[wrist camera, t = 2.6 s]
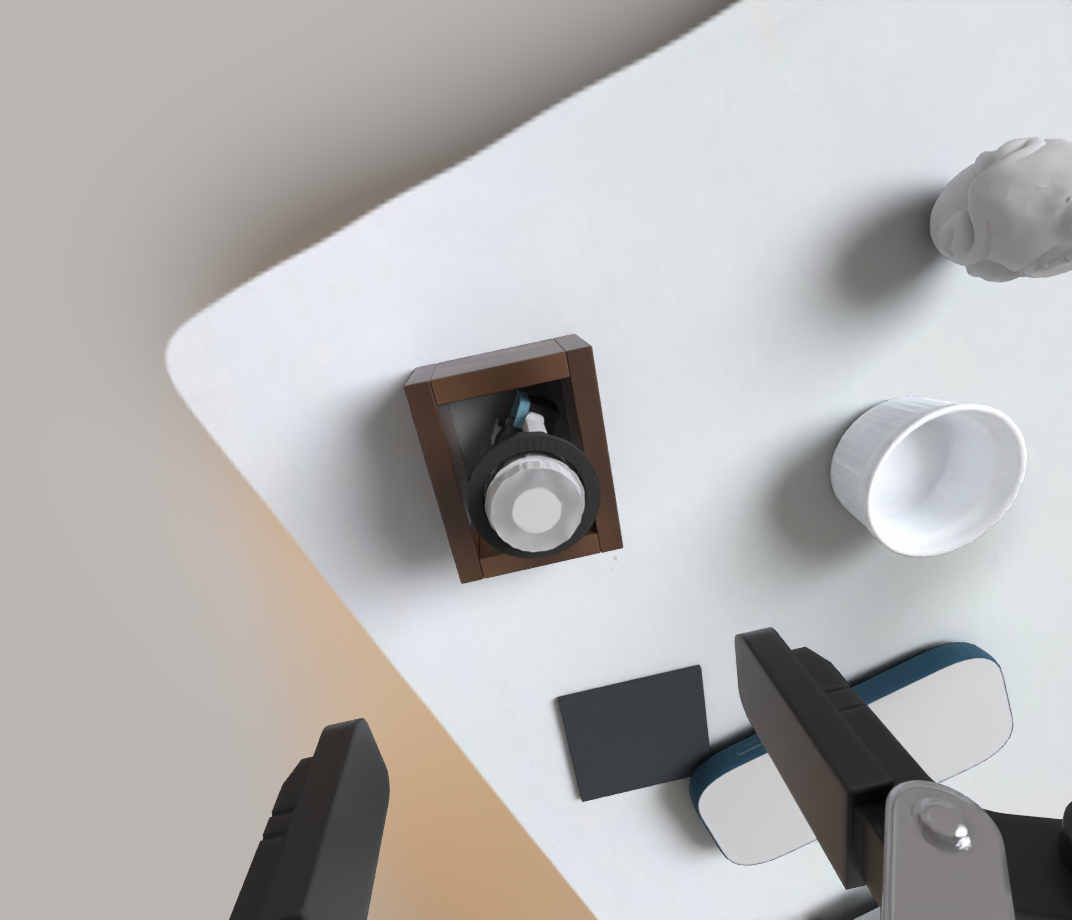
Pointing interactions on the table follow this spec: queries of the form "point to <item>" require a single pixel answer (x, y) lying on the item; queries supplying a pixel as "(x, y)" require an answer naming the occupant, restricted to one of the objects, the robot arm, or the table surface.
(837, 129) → the table surface
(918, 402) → the ramekin
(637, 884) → the table surface
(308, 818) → the robot arm
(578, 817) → the table surface
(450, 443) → the holder
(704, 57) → the table surface
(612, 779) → the mat
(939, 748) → the external hard drive
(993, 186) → the frog figurine
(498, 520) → the push button
